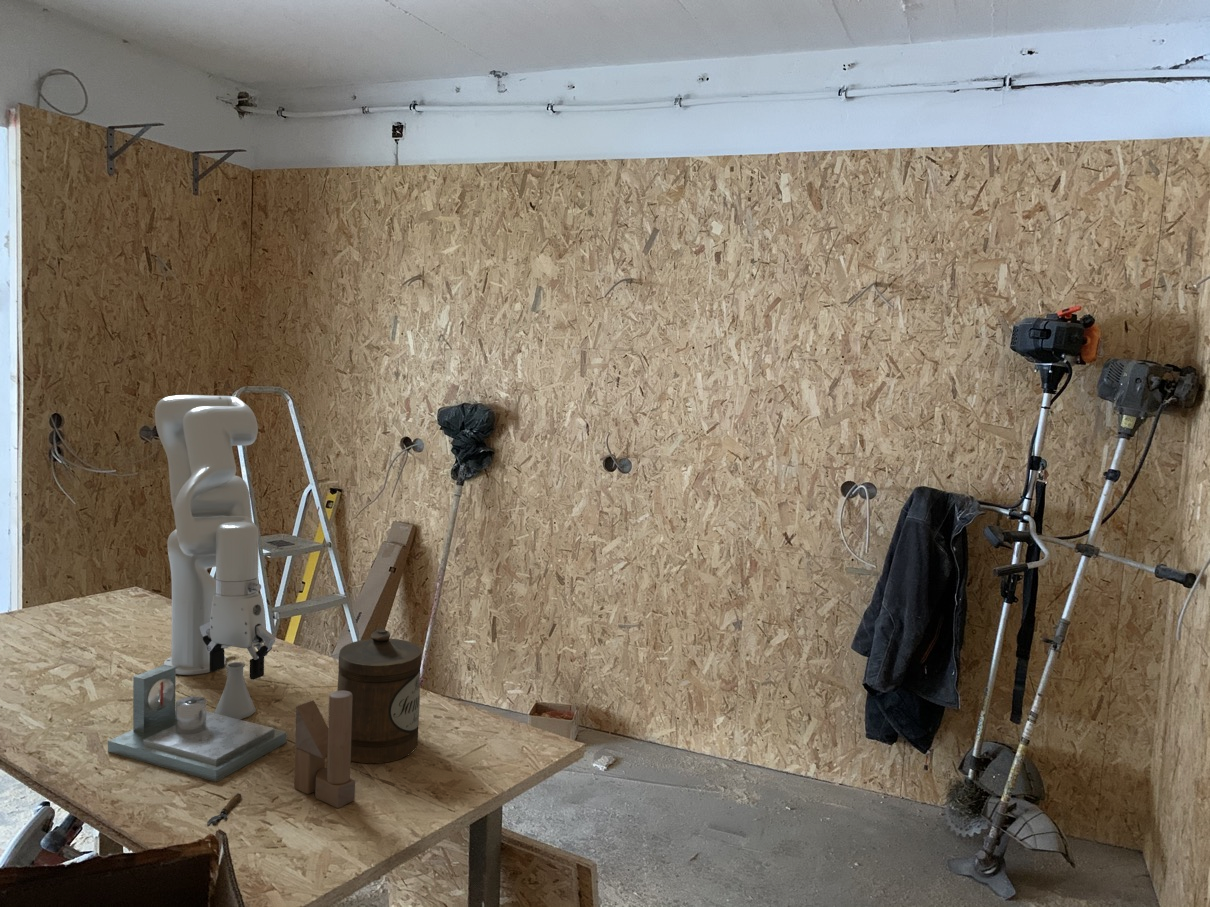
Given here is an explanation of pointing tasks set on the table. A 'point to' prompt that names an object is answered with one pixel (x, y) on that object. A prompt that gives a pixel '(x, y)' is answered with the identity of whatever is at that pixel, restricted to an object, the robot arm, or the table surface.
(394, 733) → the wooden container
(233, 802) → the can opener
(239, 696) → the flask
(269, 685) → the table surface
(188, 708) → the silver jar with knob
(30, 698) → the table surface
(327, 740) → the brown wooden pieces
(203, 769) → the scale
